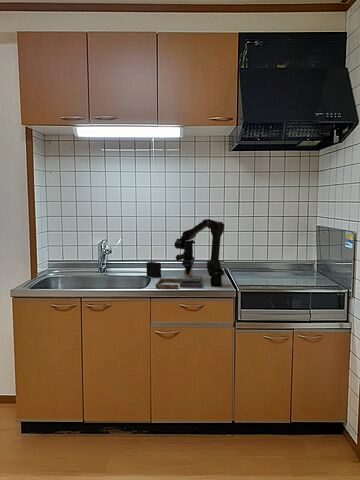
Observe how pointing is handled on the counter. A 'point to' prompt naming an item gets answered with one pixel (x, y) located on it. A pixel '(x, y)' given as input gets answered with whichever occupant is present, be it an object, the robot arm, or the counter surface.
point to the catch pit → (191, 284)
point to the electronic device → (153, 269)
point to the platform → (194, 278)
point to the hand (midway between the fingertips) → (188, 273)
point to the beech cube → (189, 274)
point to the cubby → (167, 282)
